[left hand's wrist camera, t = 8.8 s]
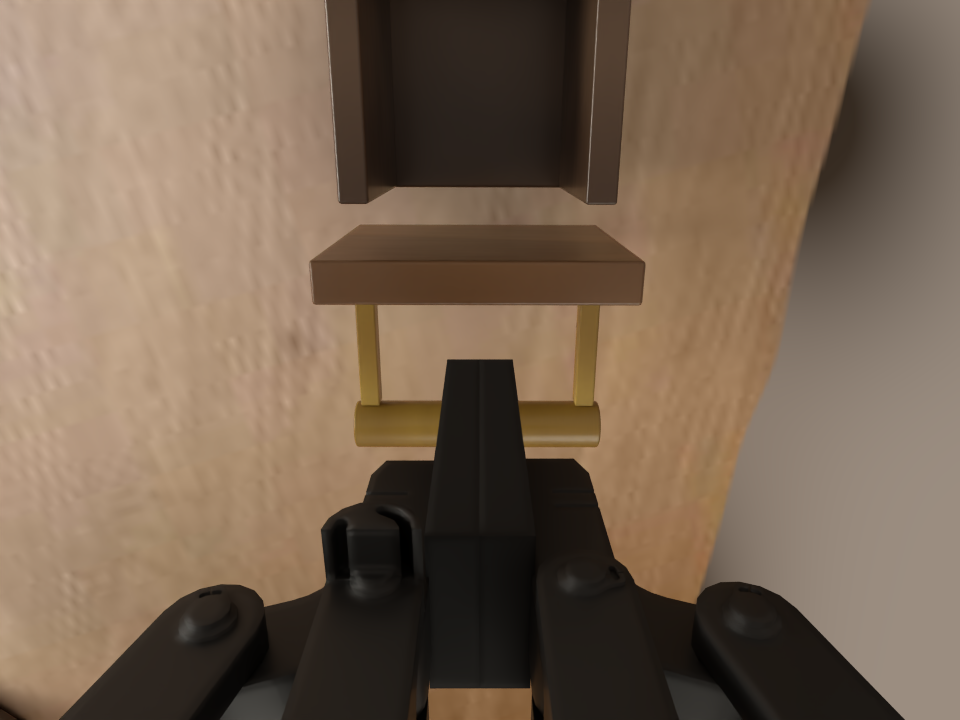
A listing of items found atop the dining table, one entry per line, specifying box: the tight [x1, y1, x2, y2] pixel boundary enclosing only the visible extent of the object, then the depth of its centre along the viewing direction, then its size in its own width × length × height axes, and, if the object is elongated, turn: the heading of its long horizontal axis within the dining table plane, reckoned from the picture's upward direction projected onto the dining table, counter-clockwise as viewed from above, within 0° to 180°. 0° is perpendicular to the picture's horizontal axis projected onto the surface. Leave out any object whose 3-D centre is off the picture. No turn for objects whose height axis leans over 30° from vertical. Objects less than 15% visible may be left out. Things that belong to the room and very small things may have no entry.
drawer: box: [309, 0, 645, 447], centre depth 19 cm, size 22×9×7 cm, turn 0°
